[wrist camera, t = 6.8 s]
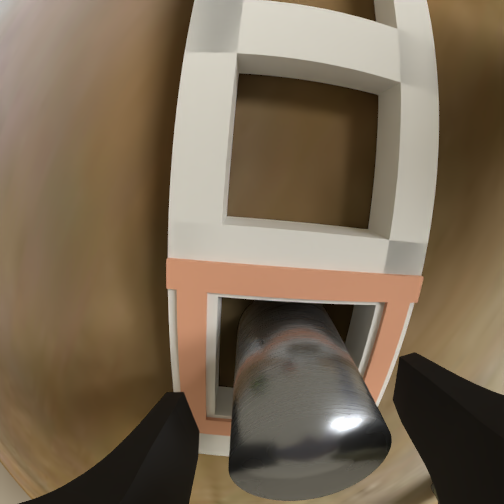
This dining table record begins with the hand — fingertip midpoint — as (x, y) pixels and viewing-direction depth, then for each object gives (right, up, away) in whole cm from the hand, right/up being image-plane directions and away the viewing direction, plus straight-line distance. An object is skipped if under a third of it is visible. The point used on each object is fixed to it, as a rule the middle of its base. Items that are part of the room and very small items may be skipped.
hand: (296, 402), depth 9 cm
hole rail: (+1, +9, +2) cm, 9 cm away
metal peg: (0, +1, +4) cm, 4 cm away
